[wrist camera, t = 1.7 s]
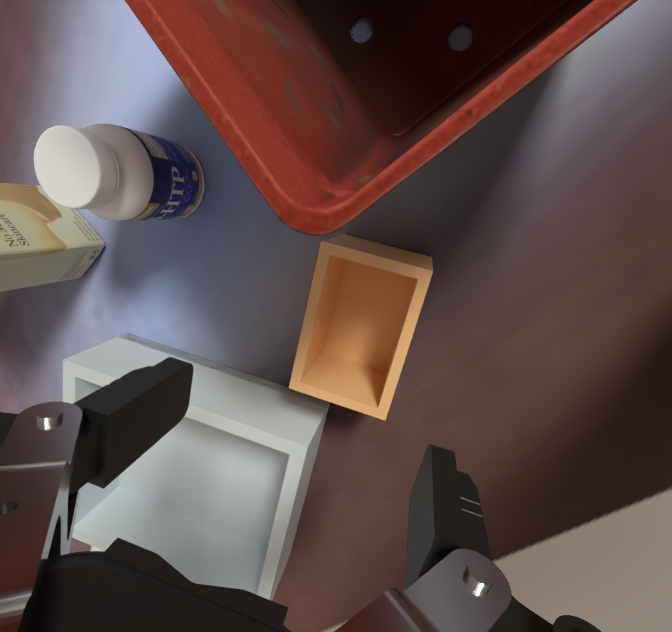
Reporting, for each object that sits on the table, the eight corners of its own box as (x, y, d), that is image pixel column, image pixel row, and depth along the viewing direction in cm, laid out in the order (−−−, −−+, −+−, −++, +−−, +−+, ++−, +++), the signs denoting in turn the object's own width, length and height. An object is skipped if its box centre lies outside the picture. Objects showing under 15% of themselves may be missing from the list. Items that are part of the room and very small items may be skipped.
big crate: (330, 401, 29) (307, 446, 24) (290, 553, 34) (263, 620, 29) (127, 333, 32) (62, 359, 26) (117, 483, 37) (61, 532, 31)
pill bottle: (188, 233, 28) (88, 243, 20) (132, 192, 29) (10, 185, 20) (219, 168, 27) (125, 150, 18) (159, 125, 27) (38, 87, 18)
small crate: (431, 256, 25) (433, 271, 19) (393, 377, 28) (385, 420, 22) (344, 233, 26) (321, 240, 20) (315, 352, 29) (288, 388, 23)
